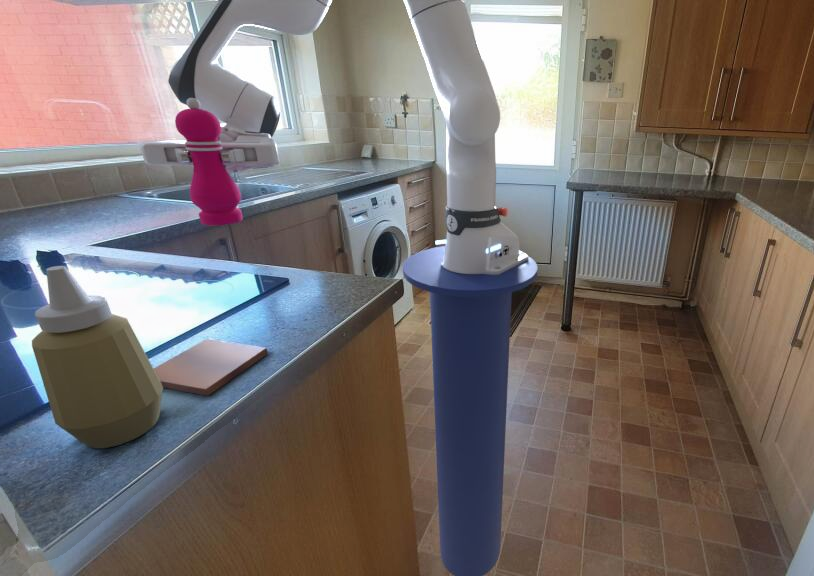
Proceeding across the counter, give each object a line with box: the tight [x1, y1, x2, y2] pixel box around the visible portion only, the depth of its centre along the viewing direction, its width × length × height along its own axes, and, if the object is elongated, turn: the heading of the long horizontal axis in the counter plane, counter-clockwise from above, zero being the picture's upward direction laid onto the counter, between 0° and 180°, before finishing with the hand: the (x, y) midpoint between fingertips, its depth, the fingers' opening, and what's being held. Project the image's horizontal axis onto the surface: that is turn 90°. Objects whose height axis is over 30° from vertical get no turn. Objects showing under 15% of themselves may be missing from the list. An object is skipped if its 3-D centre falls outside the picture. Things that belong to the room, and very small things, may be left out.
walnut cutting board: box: [153, 338, 269, 397], centre depth 53 cm, size 10×10×1 cm
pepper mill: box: [174, 98, 244, 226], centre depth 69 cm, size 7×7×20 cm
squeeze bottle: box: [31, 265, 164, 449], centre depth 39 cm, size 8×8×18 cm
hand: (205, 157), depth 68 cm, fingers closed on pepper mill, 5 cm apart
